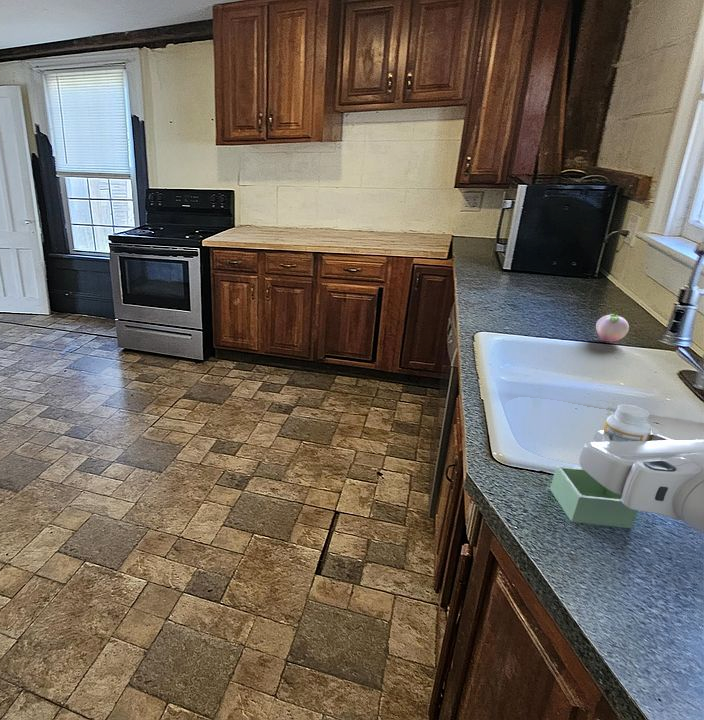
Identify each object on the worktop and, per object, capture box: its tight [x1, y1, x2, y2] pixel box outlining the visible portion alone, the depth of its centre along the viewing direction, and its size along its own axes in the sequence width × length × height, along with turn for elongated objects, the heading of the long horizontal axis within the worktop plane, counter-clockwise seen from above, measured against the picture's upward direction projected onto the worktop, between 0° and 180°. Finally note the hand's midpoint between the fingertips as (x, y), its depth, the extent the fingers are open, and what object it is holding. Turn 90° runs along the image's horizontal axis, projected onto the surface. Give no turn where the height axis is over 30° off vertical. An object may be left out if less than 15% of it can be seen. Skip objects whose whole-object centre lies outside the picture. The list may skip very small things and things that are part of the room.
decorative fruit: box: [595, 312, 630, 343], centre depth 167 cm, size 9×8×10 cm
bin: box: [549, 465, 639, 529], centre depth 91 cm, size 9×9×5 cm
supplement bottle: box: [602, 403, 652, 442], centre depth 82 cm, size 6×6×10 cm
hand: (620, 434), depth 82 cm, fingers closed on supplement bottle, 5 cm apart
